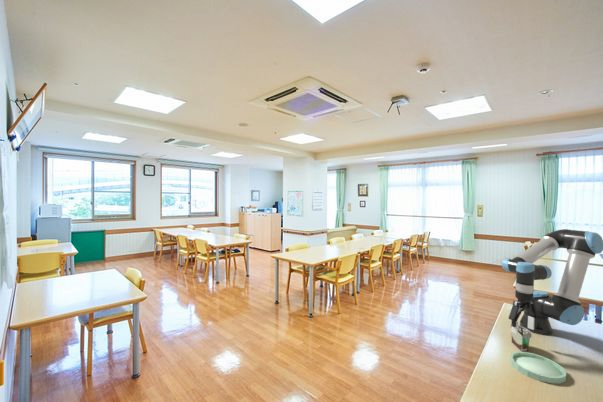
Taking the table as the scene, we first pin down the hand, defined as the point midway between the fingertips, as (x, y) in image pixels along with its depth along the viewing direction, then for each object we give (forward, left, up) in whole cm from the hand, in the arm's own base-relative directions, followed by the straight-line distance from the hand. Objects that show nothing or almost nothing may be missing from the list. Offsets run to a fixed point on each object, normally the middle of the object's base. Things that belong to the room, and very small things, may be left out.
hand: (522, 330), depth 148 cm
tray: (+14, +14, -9) cm, 22 cm away
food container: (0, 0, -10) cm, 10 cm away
